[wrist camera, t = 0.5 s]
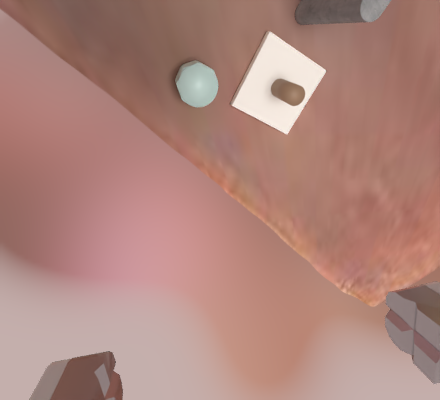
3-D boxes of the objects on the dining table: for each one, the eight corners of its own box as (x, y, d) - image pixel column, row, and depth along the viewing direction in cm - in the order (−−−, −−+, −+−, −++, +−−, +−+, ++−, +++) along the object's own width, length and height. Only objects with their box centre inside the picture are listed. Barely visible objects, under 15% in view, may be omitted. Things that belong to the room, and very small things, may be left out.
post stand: (266, 31, 46) (287, 31, 39) (322, 69, 52) (349, 76, 44) (230, 103, 51) (242, 115, 44) (284, 132, 56) (302, 146, 49)
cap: (185, 53, 46) (188, 56, 42) (219, 72, 48) (224, 76, 44) (170, 90, 48) (172, 96, 44) (203, 107, 51) (207, 113, 47)
